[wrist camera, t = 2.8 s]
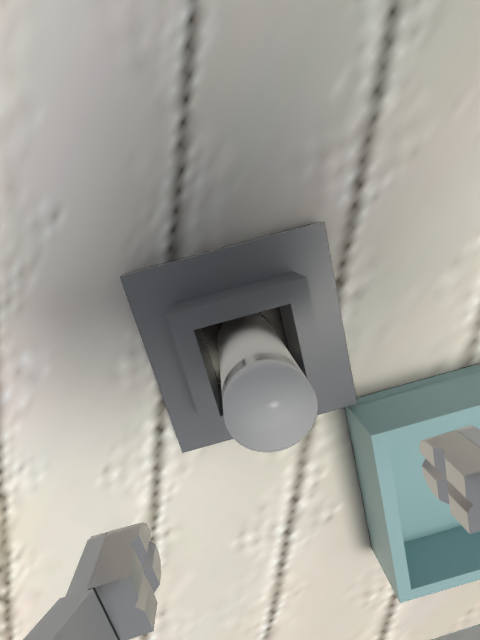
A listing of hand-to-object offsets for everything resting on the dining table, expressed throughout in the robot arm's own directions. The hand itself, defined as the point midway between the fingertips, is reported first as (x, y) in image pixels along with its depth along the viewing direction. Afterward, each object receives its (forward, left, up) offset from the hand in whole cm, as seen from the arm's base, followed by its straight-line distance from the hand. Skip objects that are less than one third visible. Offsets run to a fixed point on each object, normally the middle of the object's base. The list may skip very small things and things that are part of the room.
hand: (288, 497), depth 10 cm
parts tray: (-14, +14, -15) cm, 25 cm away
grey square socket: (0, 0, -15) cm, 15 cm away
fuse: (0, 0, -15) cm, 15 cm away
